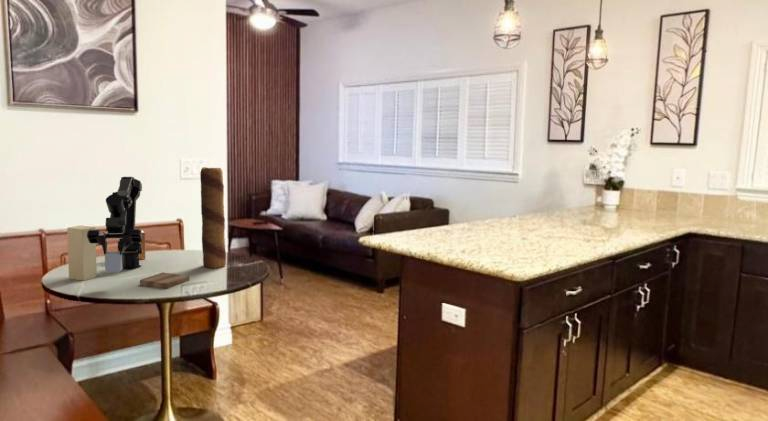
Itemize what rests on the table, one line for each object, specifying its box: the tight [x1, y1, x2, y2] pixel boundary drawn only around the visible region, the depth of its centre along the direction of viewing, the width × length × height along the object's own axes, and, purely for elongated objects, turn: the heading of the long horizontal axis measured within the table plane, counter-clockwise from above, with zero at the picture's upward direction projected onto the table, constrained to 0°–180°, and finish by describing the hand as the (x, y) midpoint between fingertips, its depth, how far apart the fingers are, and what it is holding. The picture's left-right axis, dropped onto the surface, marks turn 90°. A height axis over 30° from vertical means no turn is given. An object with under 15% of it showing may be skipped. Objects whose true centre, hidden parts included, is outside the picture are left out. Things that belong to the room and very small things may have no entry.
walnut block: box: [139, 272, 190, 290], centre depth 216 cm, size 13×13×2 cm
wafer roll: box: [199, 167, 227, 269], centre depth 242 cm, size 10×11×45 cm
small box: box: [137, 229, 146, 261], centre depth 253 cm, size 8×6×13 cm
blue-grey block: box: [104, 250, 124, 274], centre depth 205 cm, size 5×5×7 cm
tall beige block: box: [66, 225, 98, 282], centre depth 218 cm, size 8×7×21 cm
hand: (112, 254), depth 203 cm, fingers closed on blue-grey block, 5 cm apart
